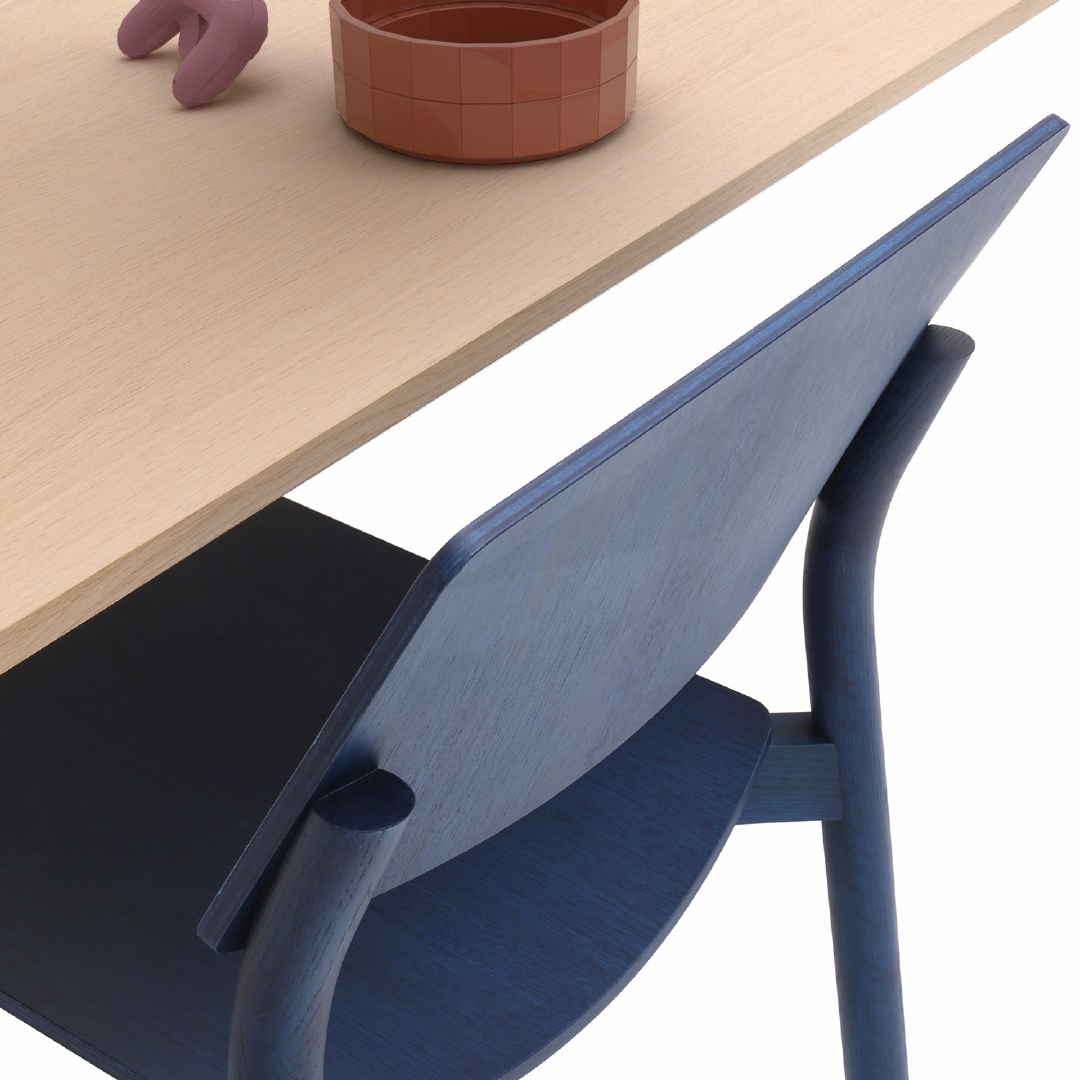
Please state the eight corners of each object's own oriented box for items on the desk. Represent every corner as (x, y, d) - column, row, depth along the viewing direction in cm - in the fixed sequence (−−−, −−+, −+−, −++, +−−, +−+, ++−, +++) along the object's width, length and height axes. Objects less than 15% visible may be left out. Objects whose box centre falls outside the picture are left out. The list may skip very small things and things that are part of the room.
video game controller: (250, 128, 89) (296, 0, 86) (172, 105, 86) (217, -28, 83) (181, 70, 95) (222, -51, 93) (107, 47, 92) (146, -78, 90)
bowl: (383, 188, 79) (376, 63, 75) (307, 77, 90) (298, -36, 87) (681, 146, 83) (687, 26, 80) (571, 45, 95) (573, -64, 91)
